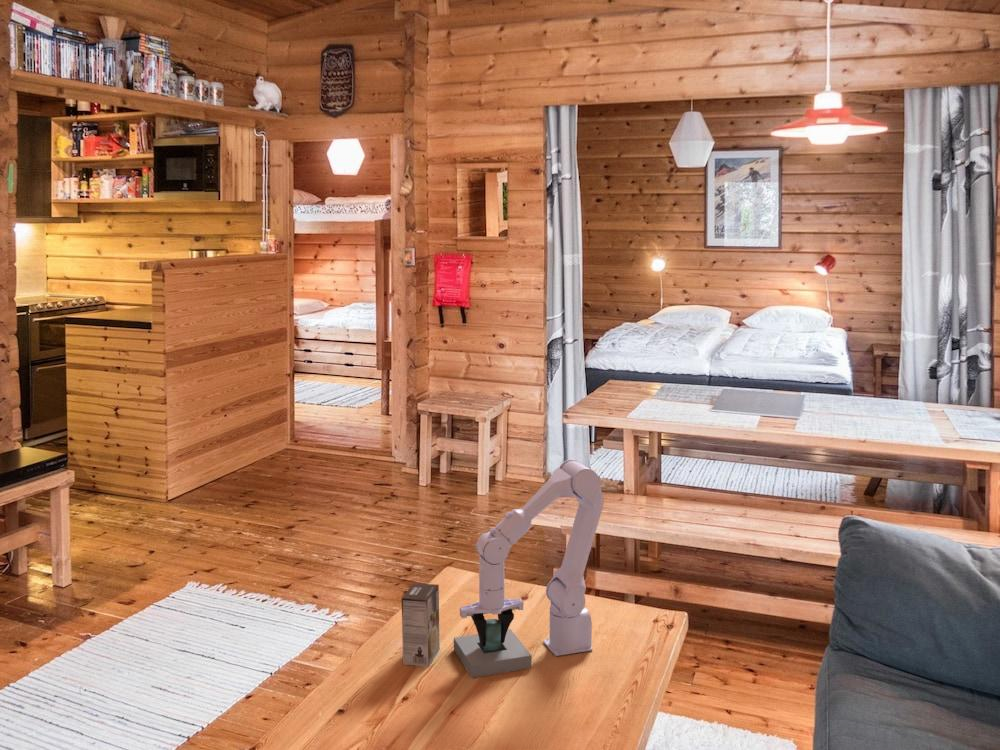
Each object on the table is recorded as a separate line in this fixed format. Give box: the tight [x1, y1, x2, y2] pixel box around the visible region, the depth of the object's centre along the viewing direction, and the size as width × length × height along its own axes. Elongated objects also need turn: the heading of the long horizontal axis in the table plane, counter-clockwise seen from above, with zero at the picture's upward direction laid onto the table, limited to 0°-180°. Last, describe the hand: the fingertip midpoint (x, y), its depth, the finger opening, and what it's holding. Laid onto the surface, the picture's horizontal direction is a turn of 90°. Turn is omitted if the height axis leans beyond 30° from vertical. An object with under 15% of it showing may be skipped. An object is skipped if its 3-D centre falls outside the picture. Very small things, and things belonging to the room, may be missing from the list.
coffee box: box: [400, 582, 441, 668], centre depth 208 cm, size 9×6×16 cm
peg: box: [484, 618, 501, 653], centre depth 207 cm, size 4×4×7 cm
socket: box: [453, 628, 533, 679], centre depth 208 cm, size 14×14×3 cm
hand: (491, 642), depth 208 cm, fingers closed on peg, 4 cm apart
